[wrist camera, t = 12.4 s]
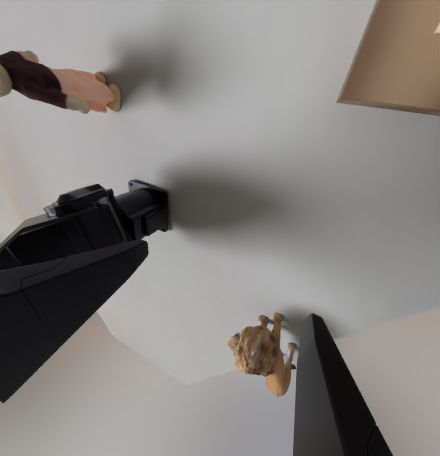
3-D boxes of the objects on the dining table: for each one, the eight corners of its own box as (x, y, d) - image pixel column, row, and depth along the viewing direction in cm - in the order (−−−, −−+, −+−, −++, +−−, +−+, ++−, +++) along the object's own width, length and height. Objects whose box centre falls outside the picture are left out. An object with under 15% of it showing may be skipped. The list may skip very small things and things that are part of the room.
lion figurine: (239, 298, 29) (215, 356, 21) (271, 294, 26) (255, 359, 18) (281, 362, 32) (272, 432, 24) (313, 365, 29) (314, 446, 22)
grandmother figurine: (86, 98, 23) (-86, 76, 13) (85, 60, 21) (-124, -1, 11) (133, 127, 23) (-13, 127, 12) (137, 90, 20) (-38, 54, 10)
